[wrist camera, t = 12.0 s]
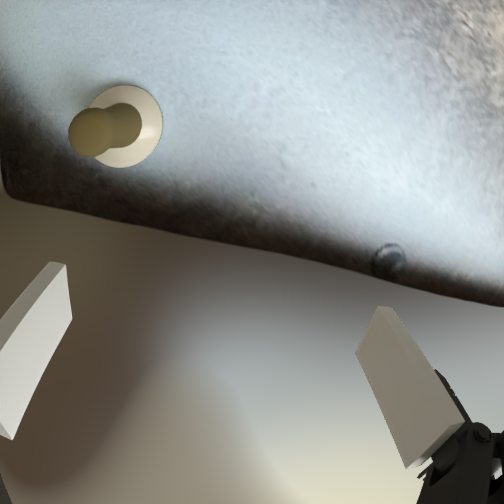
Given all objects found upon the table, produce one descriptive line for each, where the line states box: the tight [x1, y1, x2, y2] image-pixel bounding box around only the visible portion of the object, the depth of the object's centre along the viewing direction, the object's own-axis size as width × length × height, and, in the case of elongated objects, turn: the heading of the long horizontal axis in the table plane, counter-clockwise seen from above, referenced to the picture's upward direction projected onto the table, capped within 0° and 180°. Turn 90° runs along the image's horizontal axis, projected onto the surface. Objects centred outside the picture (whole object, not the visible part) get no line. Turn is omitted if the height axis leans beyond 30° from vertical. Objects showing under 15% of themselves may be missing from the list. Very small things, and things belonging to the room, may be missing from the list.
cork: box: [69, 103, 142, 157], centre depth 31 cm, size 6×6×11 cm
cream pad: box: [89, 85, 163, 168], centre depth 36 cm, size 11×11×2 cm
